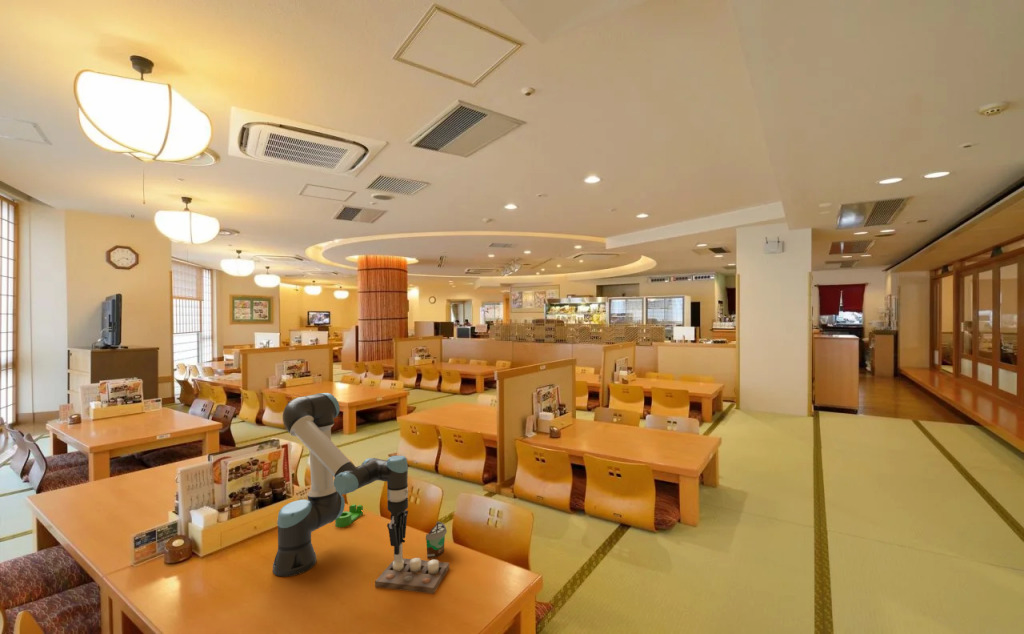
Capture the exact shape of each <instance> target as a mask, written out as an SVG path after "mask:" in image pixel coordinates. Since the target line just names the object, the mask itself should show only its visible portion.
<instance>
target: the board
mask: <svg viewBox="0 0 1024 634" xmlns="http://www.w3.org/2000/svg"><path fill="white" fill-rule="evenodd" d="M411 559H412V558H403V560H404V569H403V570H402V571H394V570H393V561H394V559H393V560H392V561H391V562H390V563H389V565H388V566H386V568H385V569H384V571H383V572H382V573H381V574H380V575H379V576H378V577H377V579H375V581H374V582H375V583H374V587H375V588H382V589H383V588H384V589H389V590H391V589H392V590H397V591H398V590H399V591H405V592H407V591H409V592H416V593H424V594H425V593H426V594H431V595H433V594H434V593H435V592H436V590H437V588H438V587H439V585H440V584H441V582H442V580H443V579H444V578H445V576H446V574H447V572H448V571H449V569H450V563H449V562H444V561H443V562H442V561H439V572H438V573H437V574H435V575H431V574H428V562H429V561H430V560H426V559H425V560H424V559H421V571H419V572H417V573H413V572H410V560H411Z"/></svg>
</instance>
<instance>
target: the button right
mask: <svg viewBox="0 0 1024 634" xmlns="http://www.w3.org/2000/svg"><path fill="white" fill-rule="evenodd" d="M428 561H429V562H428V574H431V575H438V572H439V562H440V561H439V560H438V559H431V560H428Z"/></svg>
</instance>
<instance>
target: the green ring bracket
mask: <svg viewBox="0 0 1024 634" xmlns="http://www.w3.org/2000/svg"><path fill="white" fill-rule="evenodd" d="M348 509H349V510H348V511H347V510H346V511H345V510H344V511H343V513H342V514H341V516H340V517H339V518H337V519H336V520H334V522H335V524H334V526H335V527H336V528H346V527H349V526H350V525H352V523H354V521H356V520H357V519H359V518H360V517H361V516H362V515H363V514H364V507H363V505H362V504H358V505H357V504H354V503H353V504H351V505H349V508H348ZM361 510H363V512H362V511H361ZM348 525H349V526H348Z"/></svg>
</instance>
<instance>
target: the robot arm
mask: <svg viewBox="0 0 1024 634" xmlns="http://www.w3.org/2000/svg"><path fill="white" fill-rule="evenodd" d="M339 403H340V402H339V401H338V399H337V398H336V397H335V396H334V395H333V394H332V393H330V392H323V393H319V392H318V393H315V394H310V395H309V394H308V395H305V396H298V397H296V398H294V399H291V400H290V401H289V402H288V403H287V404H286V405H285V407H284V409H283V411H282V422H283V425H284V427H285V429H286V430H287V432H288V433H289V434H290V435H291V436H292V437H296V438H298V439H299V441H301V443H302V444H303V445H304V446H305V447H306V448H307V449H308V450H309V467H310V470H309V471H310V485H311V487H310V488H311V489H310V490H309V491H308V492H307V499H298V500H293V501H291V502H289V503H287V504H284V505H283V506H282V507H281V508H280V510H279V512H278V515H277V521H276V525H277V550H276V554H275V556H274V560H273V563H272V573H273V574H274V575H275V576H277V577H283V578H284V577H294V576H297V575H301V574H303V573H305V572H308V571H309V570H311V569H312V568H313V567H314V566H315V565H316V563H317V554H316V551H315V550H314V547H313V544H312V533H313V532H314V531H316V530H318V529H320V528H322V527H324V526H326V525H328V524H330V523H333V522H335V520H336V519H337V518H339V517H340V516H341V514H342V513H343V512H344V511H345V506H346V504H345V498H344V496H343V495H347V494H349V493H354V492H355V491H357V490H359V489H361V488H363V487H365V486H368V485H370V484H372V483H374V482H377V481H382V482H386V483H387V484H386V486H387V490H386V491H387V493H386V494H387V495H386V497H387V501H386V502H387V511H388V512H389V513H390V522H388V523H386V524H387V525H386V527H387V531H388V534H389V535H388V537H389V543H390V547H393V560H394V562H399V563H401V562H402V561H403V544H404V543H405V542H406V540H405V538H406V531H407V519H408V514H409V510H408V508H409V498H408V496H409V487H408V486H409V485H408V480H409V478H408V477H409V475H408V472H409V466H408V458H407V457H406V456H405V455H401V454H400V455H392V456H390V457H388V458H387V459H386V460H385V459H380V458H376V457H369V458H366V459H364V460H363V462H362V463H361V465H358V466H356V465H355V464H354V463H353V462H352V461H351V460H350V459H349V458H348V457H347V456H346V455H345V454H344V453H343V452H342V451H341V449H340V448H338V447H337V445H336V444H334V442H333V441H332V427H333V426H334V425H335V419H336V418H337V417H338V416H339V414H340V404H339Z"/></svg>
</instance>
